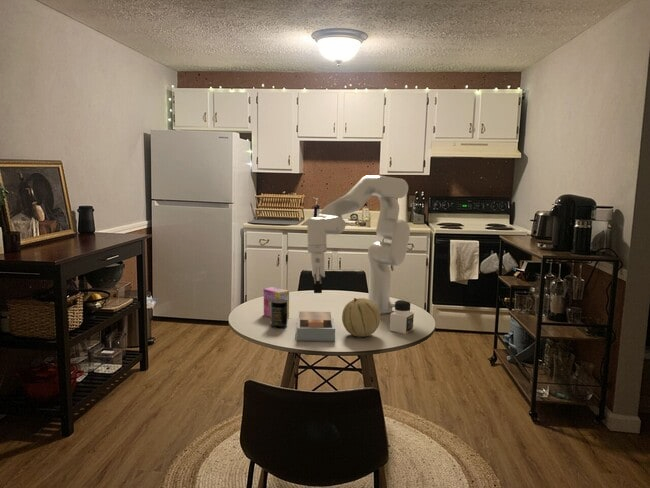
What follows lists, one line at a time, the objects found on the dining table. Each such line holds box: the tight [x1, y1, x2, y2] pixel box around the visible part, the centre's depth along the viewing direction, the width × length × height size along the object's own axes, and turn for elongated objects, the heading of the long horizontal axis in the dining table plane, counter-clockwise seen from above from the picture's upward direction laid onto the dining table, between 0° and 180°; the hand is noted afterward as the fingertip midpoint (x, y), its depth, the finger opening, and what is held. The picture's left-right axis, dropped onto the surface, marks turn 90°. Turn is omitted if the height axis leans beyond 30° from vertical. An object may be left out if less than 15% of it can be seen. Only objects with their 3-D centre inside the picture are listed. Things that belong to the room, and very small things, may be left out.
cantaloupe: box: [341, 297, 382, 338], centre depth 189 cm, size 15×15×15 cm
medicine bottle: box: [389, 299, 415, 335], centre depth 197 cm, size 7×7×12 cm
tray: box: [296, 317, 336, 343], centre depth 188 cm, size 14×14×5 cm
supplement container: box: [270, 299, 288, 329], centre depth 198 cm, size 7×7×10 cm
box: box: [263, 286, 290, 319], centre depth 212 cm, size 10×6×12 cm, turn 47°
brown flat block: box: [298, 310, 333, 327], centre depth 201 cm, size 13×12×4 cm
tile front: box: [308, 319, 323, 328], centre depth 187 cm, size 6×6×3 cm
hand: (317, 292), depth 201 cm, fingers closed
